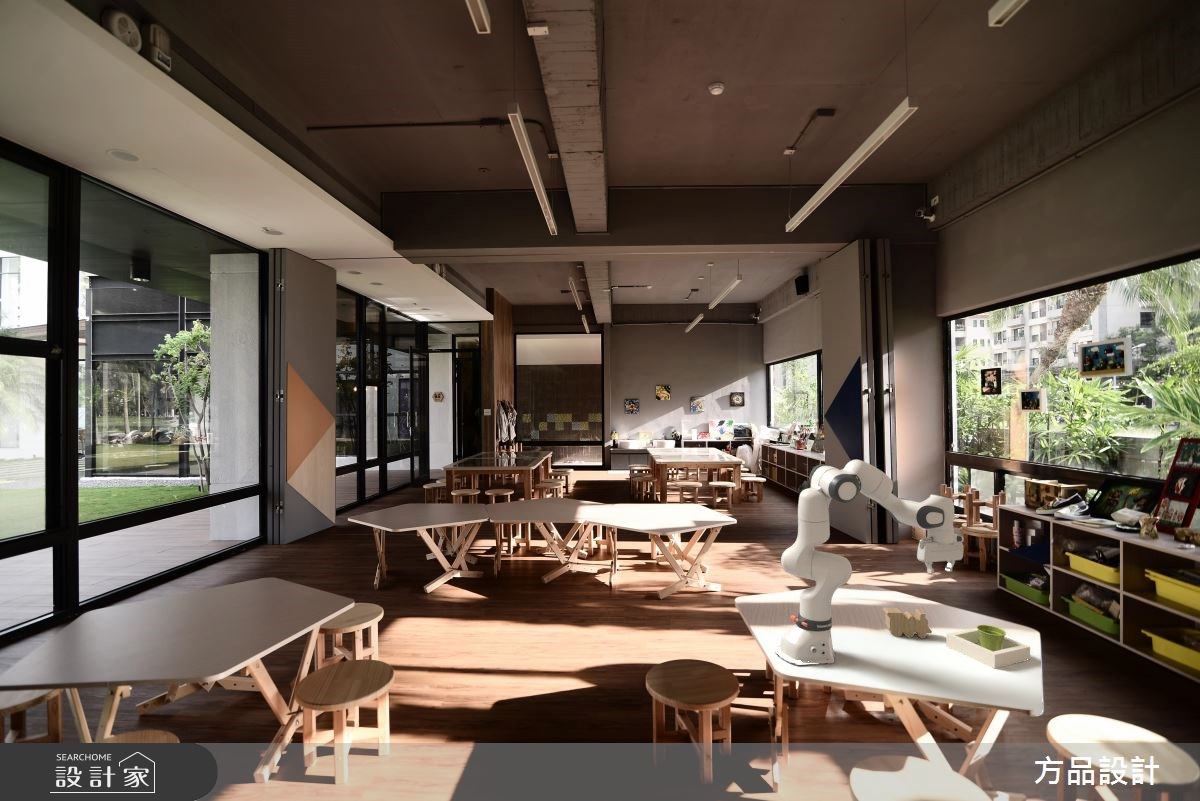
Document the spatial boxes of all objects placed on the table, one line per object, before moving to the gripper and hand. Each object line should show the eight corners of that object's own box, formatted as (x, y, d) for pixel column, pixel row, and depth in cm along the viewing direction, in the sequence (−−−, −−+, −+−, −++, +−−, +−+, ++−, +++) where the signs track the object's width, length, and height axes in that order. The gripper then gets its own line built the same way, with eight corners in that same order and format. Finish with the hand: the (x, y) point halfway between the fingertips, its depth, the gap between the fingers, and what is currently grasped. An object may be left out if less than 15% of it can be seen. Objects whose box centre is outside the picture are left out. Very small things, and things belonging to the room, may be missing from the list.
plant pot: (1004, 650, 221) (1004, 628, 221) (1007, 660, 213) (1007, 637, 213) (975, 644, 226) (975, 623, 226) (976, 654, 218) (977, 631, 218)
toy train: (931, 639, 231) (932, 614, 231) (886, 636, 234) (887, 611, 233) (926, 633, 236) (926, 609, 236) (882, 630, 239) (882, 606, 239)
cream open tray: (994, 668, 206) (994, 654, 206) (946, 646, 224) (946, 633, 224) (1030, 660, 213) (1030, 646, 213) (980, 639, 231) (980, 627, 231)
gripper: (927, 539, 215) (926, 576, 215) (966, 537, 222) (966, 572, 222) (913, 535, 221) (912, 571, 221) (952, 533, 228) (951, 568, 228)
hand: (939, 572), depth 221 cm, fingers open, 8 cm apart
